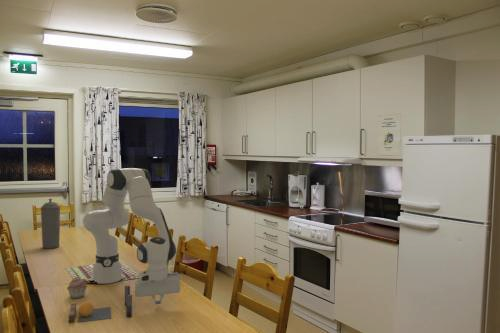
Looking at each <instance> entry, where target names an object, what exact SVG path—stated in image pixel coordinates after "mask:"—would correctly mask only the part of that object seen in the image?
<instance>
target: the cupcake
mask: <svg viewBox="0 0 500 333" xmlns="http://www.w3.org/2000/svg"><path fill="white" fill-rule="evenodd" d="M86 282H87V281H85V280H84V279H83V278H81V277H79V276H78V275H77V276H74V277H73V278H72V280H71V281H69V284H68V286H67V287H66V289H67V291H68V295H69V297H70V298H71V299H74V298H76V299H81V298H83V297H85V293H86V290H87V288H88V285H87V283H86Z"/></svg>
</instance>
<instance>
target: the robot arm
mask: <svg viewBox="0 0 500 333" xmlns="http://www.w3.org/2000/svg"><path fill="white" fill-rule="evenodd" d="M151 182H152V176H151V173H150V171H149V170H148V169H145V168H141V167H140V168H135V167H128V168H125V167H123V168H113V169H111V170H109V172H108V173H107V175H106V186H105V188H104V192H103V195H102V203H103V204H104V206H106V207H107V208H105V209H97V210H93V211H92V210H91V211H89V212H87V213H86V212H85V214H84V216H83V218H82V224H83V227H84V229H85V230H87V231H88V232H90V234H91V235H92V236H93V237H94V240H95V244H96V245H95V247H96V248H95V249H96V254H95V264H93V265H92V275H91V277H90V278H89V279H88V281H89V280H94V281H95V282H97V283H96V284H99V285H100V284H103V285H104V284H113V283H117V282H120V281H121V279H122V280H124V278H125V279H126V275H125V274H123V269H122V268H123V267H122V265H123V264H122V263H121V262H120V261H119V259H120V255H119V254H120V253H119V241H118V238H116V236H114V235H111V234H110V233H109V230H113V229H117V228H118V229H119V228H122V227H124V226H127V225H128V224H129V222H130V218H131V215H130V213H129V211H128V210H127V209H126V208H125V200H126V197H127V193H128V198H129V199H128V200H129V206H130V211H132V213H133V214H134V215H135V216H136V217H138V218H141V219H145V220H148V221H151V222H152V223H154V224H155V226H156V229H157V232H158V235H159V236H157V237H156V236H155V237H151V238H150V239H149V240H148V241H146V242H142V243H140V244H139V245H138V247H137V248H136V249H137V250H136V258H137V260H138V262H140V263H142V264H147V265H148V266H147V269H145V270H142V271H140V272H138V274H137V280H136V282H135V288H134V296H135V297H137V298H139V297H150V296H151V298H152V299H153V301H154V305H156V306H157V305H161V304H162V300H164V297H165V295H169V294H171V295H172V294H177V293H180V292H181V282H180V281H181V279H182V276H181V273H178V272H177V271H176V272H169V270H168V269H169V267H168V266H169V265H168V261H172V260H173V259H174V257H175V255H176V254H177V248H176V243H175V242H174V240H173V238H172V235H171V233H170V230H169V226H168V224H167V221H166V218H165V214H164V213H163V210H162V209H161V208H160V207H159V206H158V205H156V202H155V200H154V197H153V192H152V188H151V185H150V184H151ZM92 278H93V279H92ZM95 282H94V283H95ZM157 296H160V298H159V299H157V298H156V297H157Z"/></svg>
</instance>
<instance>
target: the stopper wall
mask: <svg viewBox="0 0 500 333" xmlns="http://www.w3.org/2000/svg"><path fill="white" fill-rule="evenodd" d="M69 308H70V309H69V312H68V313H69V314H68V324H73V323H75V319H76V313H77V303H70V307H69Z"/></svg>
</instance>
